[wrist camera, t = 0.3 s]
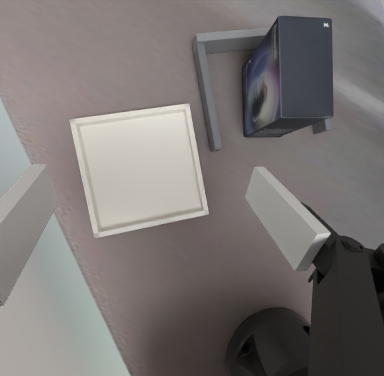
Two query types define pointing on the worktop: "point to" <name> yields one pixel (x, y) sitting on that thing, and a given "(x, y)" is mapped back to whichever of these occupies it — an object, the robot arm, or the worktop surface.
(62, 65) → the worktop surface
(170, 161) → the tray
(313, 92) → the small box
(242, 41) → the bay
